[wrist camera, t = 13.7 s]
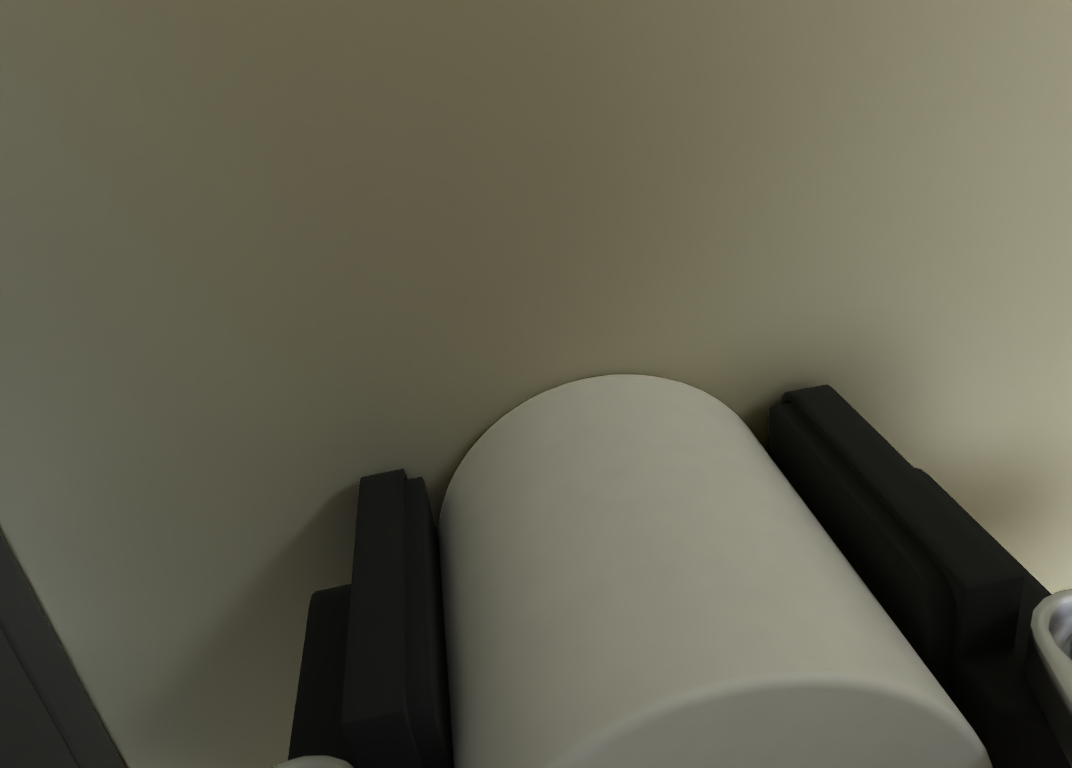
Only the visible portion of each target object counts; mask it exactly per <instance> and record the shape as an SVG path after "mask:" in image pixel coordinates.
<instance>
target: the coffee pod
mask: <svg viewBox="0 0 1072 768" xmlns="http://www.w3.org/2000/svg"><path fill="white" fill-rule="evenodd" d="M439 552H440V566H441V581H442V596H443V611H444V625H445V640H446V655H447V670H448V684H449V699H450V714H451V729H452V744H453V758H454V768H993V767H992V764H991V761H990V759H989V756H988V753H987V751H986V748H985V747H984V745H983V744H982V742H981V741H980V739H979V737H978V736H977V734H976V733H975V731H974V730H973V728H972V727H971V726H970V724H969V723H968V722H967V720H966V719H965V718H964V716H963V715H962V714H961V712H960V711H959V709H958V708H957V707H956V705H955V704H954V703H953V701H952V700H951V699H950V697H949V696H948V695H947V693H946V692H945V691H944V689H943V688H942V687H941V685H940V684H939V683H938V681H937V680H936V679H935V677H934V676H933V675H932V673H931V672H930V671H929V669H928V668H927V667H926V665H925V664H924V662H923V661H922V660H921V658H920V657H919V656H918V654H917V653H916V652H915V650H914V649H913V648H912V646H911V645H910V644H909V642H908V641H907V640H906V638H905V637H904V636H903V634H902V633H901V632H900V630H899V629H898V628H897V626H896V625H895V624H894V622H893V621H892V620H891V618H890V617H889V615H888V614H887V613H886V611H885V610H884V609H883V607H882V606H881V605H880V603H879V602H878V601H877V599H876V598H875V597H874V595H873V594H872V593H871V591H870V590H869V589H868V587H867V586H866V585H865V583H864V582H863V581H862V579H861V578H860V577H859V575H858V574H857V573H856V571H855V570H854V568H853V567H852V566H851V564H850V563H849V562H848V560H847V559H846V558H845V556H844V555H843V554H842V552H841V551H840V550H839V548H838V547H837V546H836V544H835V543H834V542H833V540H832V539H831V538H830V536H829V535H828V534H827V532H826V531H825V530H824V528H823V527H822V525H821V524H820V523H819V521H818V520H817V519H816V517H815V516H814V515H813V513H812V512H811V511H810V509H809V508H808V507H807V505H806V504H805V503H804V501H803V500H802V499H801V497H800V496H799V495H798V493H797V492H796V491H795V489H794V488H793V487H792V485H791V484H790V483H789V481H788V480H787V478H786V477H785V476H784V474H783V473H782V472H781V470H780V469H779V468H778V466H777V465H776V464H775V462H774V461H773V460H772V458H771V457H770V456H769V454H768V453H767V452H766V450H765V449H764V448H763V446H762V445H761V444H760V442H759V441H758V440H757V438H756V437H755V436H754V434H753V433H752V431H751V430H750V429H749V427H748V426H747V425H746V424H745V423H744V422H743V421H742V420H741V419H740V418H739V417H738V415H737V414H736V413H735V412H733V411H732V410H731V409H730V408H728V407H727V406H726V405H725V404H723V403H722V402H721V401H719V400H718V399H716V398H714V397H713V396H711V395H709V394H707V393H705V392H704V391H702V390H700V389H697V388H695V387H692V386H689V385H687V384H684V383H682V382H678V381H674V380H670V379H666V378H662V377H656V376H647V375H638V374H615V375H605V376H597V377H590V378H585V379H581V380H578V381H574V382H570V383H566V384H563V385H560V386H558V387H555V388H553V389H550V390H547V391H545V392H542V393H541V394H539V395H537V396H535V397H533V398H531V399H529V400H527V401H525V402H523V403H522V404H520V405H519V406H517V407H516V408H514V409H513V410H511V411H510V412H509V413H507V414H506V415H504V416H503V417H502V418H500V419H499V420H498V421H497V422H496V423H495V424H494V425H492V426H491V427H490V428H489V429H488V430H487V431H486V432H485V433H484V434H483V435H482V436H481V437H480V439H479V440H478V441H477V442H476V443H475V444H474V445H473V446H472V448H471V449H470V450H469V451H468V453H467V454H466V456H465V457H464V459H463V460H462V462H461V463H460V465H459V466H458V468H457V470H456V472H455V474H454V476H453V478H452V480H451V482H450V484H449V486H448V489H447V492H446V495H445V498H444V501H443V504H442V508H441V515H440V521H439Z"/></svg>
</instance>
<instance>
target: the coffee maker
mask: <svg viewBox="0 0 1072 768" xmlns="http://www.w3.org/2000/svg"><path fill="white" fill-rule="evenodd" d="M0 768H125V766H124V764H123V763H122V761H121V759H120V757H119V755H118V753H117V751H116V749H115V748H114V746H113V744H112V742H111V740H110V738H109V736H108V734H107V732H106V731H105V729H104V727H103V725H102V723H101V721H100V719H99V717H98V716H97V714H96V712H95V710H94V708H93V706H92V704H91V702H90V700H89V699H88V697H87V695H86V693H85V691H84V689H83V687H82V685H81V683H80V682H79V680H78V678H77V676H76V674H75V672H74V670H73V668H72V667H71V665H70V663H69V661H68V659H67V657H66V655H65V653H64V651H63V650H62V648H61V646H60V644H59V642H58V640H57V638H56V636H55V634H54V633H53V631H52V629H51V627H50V625H49V623H48V621H47V619H46V618H45V616H44V614H43V612H42V610H41V608H40V606H39V604H38V602H37V601H36V599H35V597H34V595H33V593H32V591H31V589H30V587H29V585H28V584H27V582H26V580H25V578H24V576H23V574H22V572H21V570H20V569H19V567H18V565H17V563H16V561H15V559H14V557H13V555H12V553H11V552H10V550H9V548H8V546H7V544H6V542H5V540H4V538H3V536H2V535H1V533H0Z"/></svg>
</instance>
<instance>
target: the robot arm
mask: <svg viewBox="0 0 1072 768" xmlns="http://www.w3.org/2000/svg"><path fill="white" fill-rule="evenodd" d="M768 423H769V456H770V457H771V458H772V460H773V461H774V462H775V464H776V465H777V466H778V468H779V469H780V470H781V472H782V473H783V474H784V476H785V477H786V478H787V480H788V481H789V483H790V484H791V485H792V487H793V488H794V489H795V491H796V492H797V493H798V495H799V496H800V497H801V499H802V500H803V501H804V503H805V504H806V505H807V507H808V508H809V509H810V511H811V512H812V513H813V515H814V516H815V517H816V519H817V520H818V521H819V523H820V524H821V525H822V527H823V528H824V530H825V531H826V532H827V534H828V535H829V536H830V538H831V539H832V540H833V542H834V543H835V544H836V546H837V547H838V548H839V550H840V551H841V552H842V554H843V555H844V556H845V558H846V559H847V560H848V562H849V563H850V564H851V566H852V567H853V568H854V570H855V571H856V573H857V574H858V575H859V577H860V578H861V579H862V581H863V582H864V583H865V585H866V586H867V587H868V589H869V590H870V591H871V593H872V594H873V595H874V597H875V598H876V599H877V601H878V602H879V603H880V605H881V606H882V607H883V609H884V610H885V611H886V613H887V614H888V615H889V617H890V618H891V620H892V621H893V622H894V624H895V625H896V626H897V628H898V629H899V630H900V632H901V633H902V634H903V636H904V637H905V638H906V640H907V641H908V642H909V644H910V645H911V646H912V648H913V649H914V650H915V652H916V653H917V654H918V656H919V657H920V658H921V660H922V661H923V662H924V664H925V665H926V667H927V668H928V669H929V671H930V672H931V673H932V675H933V676H934V677H935V679H936V680H937V681H938V683H939V684H940V685H941V687H942V688H943V689H944V691H945V692H946V693H947V695H948V696H949V697H950V699H951V700H952V701H953V703H954V704H955V705H956V707H957V708H958V709H959V711H960V712H961V714H962V715H963V716H964V718H965V719H966V720H967V722H968V723H969V724H970V726H971V727H972V728H973V730H974V731H975V733H976V734H977V736H978V737H979V739H980V741H981V742H982V744H983V745H984V747H985V748H986V751H987V753H988V756H989V759H990V761H991V764H992V767H993V768H1072V589H1068V590H1062V591H1059V592H1057V593H1055V594H1051V593H1050V592H1049V591H1048V590H1047V589H1046V588H1045V587H1044V586H1043V585H1041V584H1040V583H1039V582H1038V581H1037V580H1036V579H1035V578H1034V577H1033V576H1032V575H1031V574H1030V573H1029V572H1028V571H1027V570H1026V569H1025V568H1024V567H1023V566H1022V565H1021V564H1020V563H1019V562H1018V561H1017V560H1016V559H1015V558H1014V557H1013V556H1012V555H1011V554H1010V553H1008V552H1007V551H1006V550H1005V549H1004V548H1003V547H1002V546H1001V545H1000V544H999V543H998V542H997V541H996V540H995V539H994V538H993V537H992V536H991V535H990V534H989V533H988V532H987V531H986V530H985V529H984V528H983V527H982V526H981V525H980V524H979V523H978V522H977V521H975V520H974V519H973V518H972V517H971V516H970V515H969V514H968V513H967V512H966V511H965V510H964V509H963V508H962V507H961V506H960V505H959V504H958V503H957V502H956V501H955V500H954V499H953V498H952V497H951V496H950V495H949V494H948V493H947V492H946V491H945V490H944V489H942V488H941V487H940V486H939V485H938V484H937V483H936V482H935V481H934V480H933V479H932V478H931V477H930V476H929V475H928V474H926V473H925V472H924V471H922V470H921V469H917V468H913V467H912V466H911V465H910V464H909V463H908V462H907V461H906V460H905V459H904V458H903V457H902V456H901V455H900V454H899V453H898V452H897V451H896V450H895V449H894V448H893V447H892V446H891V445H890V444H889V443H888V442H887V441H886V440H885V439H884V438H883V437H882V436H881V435H880V434H879V433H878V432H877V431H876V430H875V429H874V428H873V427H872V426H871V425H870V424H869V423H868V422H867V421H866V420H865V419H864V418H863V417H862V416H861V415H860V414H859V413H858V412H857V411H856V410H855V409H854V408H852V407H851V406H850V405H849V404H848V403H847V402H846V401H845V400H844V399H843V398H842V397H841V396H840V395H839V394H838V393H837V392H836V391H835V390H834V389H833V388H832V387H831V386H829V385H820V386H815V387H810V388H805V389H800V390H795V391H790V392H785V393H784V394H783V395H782V397H781V401H780V405H775V406H772V407H771V408H770V410H769V416H768ZM272 768H454V758H453V744H452V729H451V714H450V699H449V684H448V670H447V655H446V640H445V625H444V611H443V596H442V581H441V566H440V552H439V541H438V536H437V532H436V528H435V524H434V520H433V516H432V512H431V508H430V504H429V500H428V496H427V491H426V487H425V484H424V480H423V478H422V477H417V478H412V479H407V476H406V473H405V471H404V469H399V470H394V471H389V472H384V473H379V474H374V475H369V476H364V477H361V478H360V482H359V494H358V507H357V520H356V533H355V546H354V559H353V572H352V584H348V585H343V586H338V587H334V588H329V589H324V590H319V591H315V592H314V593H313V594H312V596H311V600H310V605H309V612H308V619H307V626H306V633H305V640H304V648H303V655H302V662H301V669H300V676H299V683H298V690H297V698H296V705H295V712H294V719H293V726H292V733H291V740H290V747H289V755H288V761H285V762H281V763H279V764H278V765H276V766H274V767H272Z"/></svg>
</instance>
